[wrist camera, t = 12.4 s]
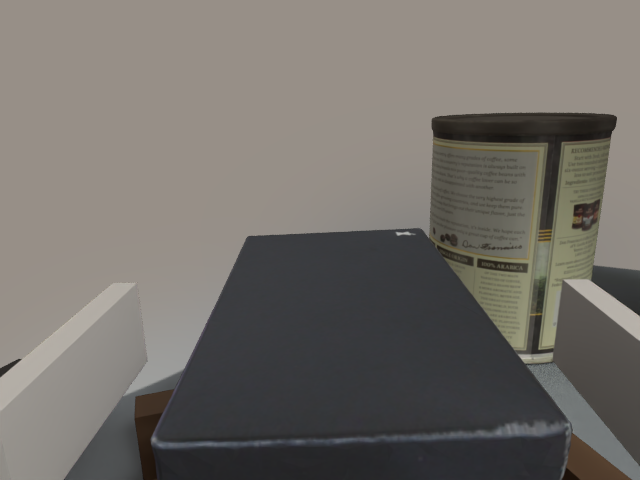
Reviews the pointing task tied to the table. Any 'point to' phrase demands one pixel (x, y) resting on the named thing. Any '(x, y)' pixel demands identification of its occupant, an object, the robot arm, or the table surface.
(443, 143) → the coffee can
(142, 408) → the corner tray
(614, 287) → the table surface
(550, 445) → the small box
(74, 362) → the robot arm
